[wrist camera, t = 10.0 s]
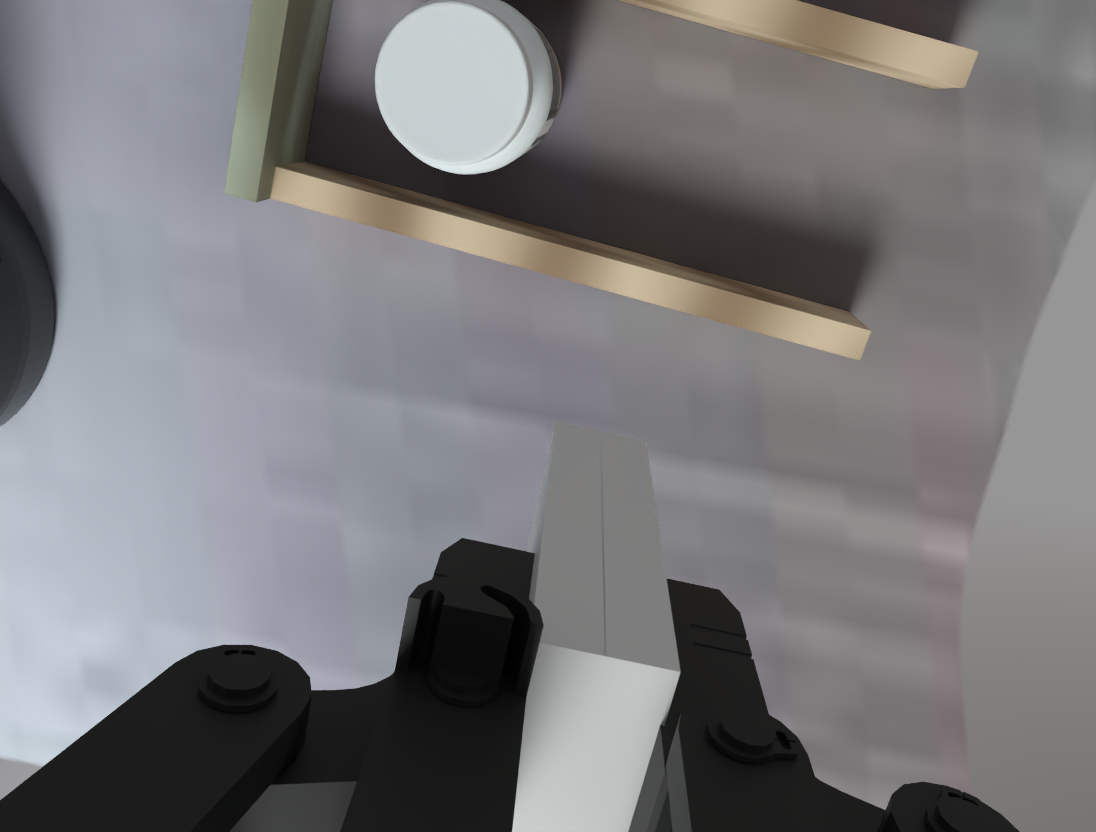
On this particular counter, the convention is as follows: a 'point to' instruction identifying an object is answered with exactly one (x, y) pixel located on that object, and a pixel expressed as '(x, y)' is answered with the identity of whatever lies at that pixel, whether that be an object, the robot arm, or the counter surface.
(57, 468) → the counter surface
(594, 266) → the bay
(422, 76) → the pill bottle
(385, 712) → the robot arm
